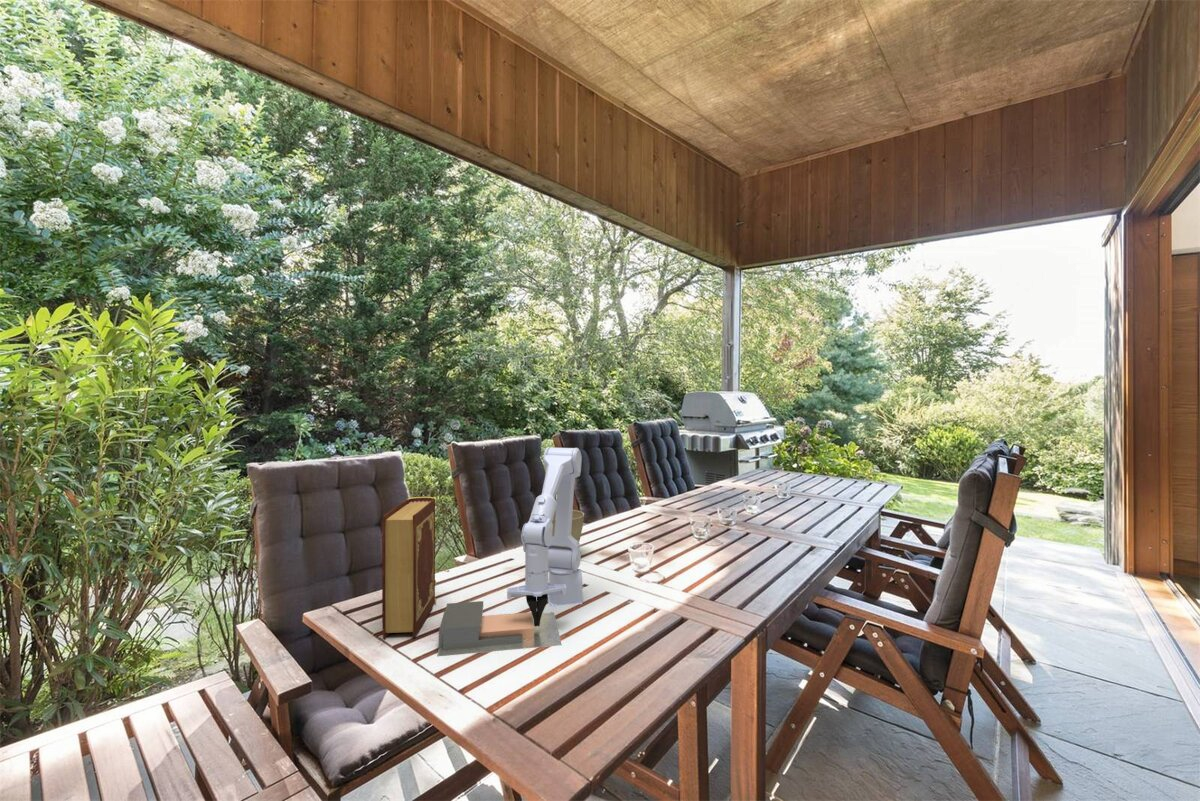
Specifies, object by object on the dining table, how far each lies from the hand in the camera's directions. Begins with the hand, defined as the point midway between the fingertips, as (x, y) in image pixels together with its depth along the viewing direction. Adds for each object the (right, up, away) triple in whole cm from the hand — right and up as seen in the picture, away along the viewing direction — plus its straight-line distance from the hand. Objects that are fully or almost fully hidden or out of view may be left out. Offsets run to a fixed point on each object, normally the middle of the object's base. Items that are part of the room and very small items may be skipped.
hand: (536, 624), depth 124 cm
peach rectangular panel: (-9, -1, -2) cm, 9 cm away
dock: (-9, -2, -2) cm, 9 cm away
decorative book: (-34, -2, +7) cm, 34 cm away
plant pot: (+3, -2, +57) cm, 57 cm away
